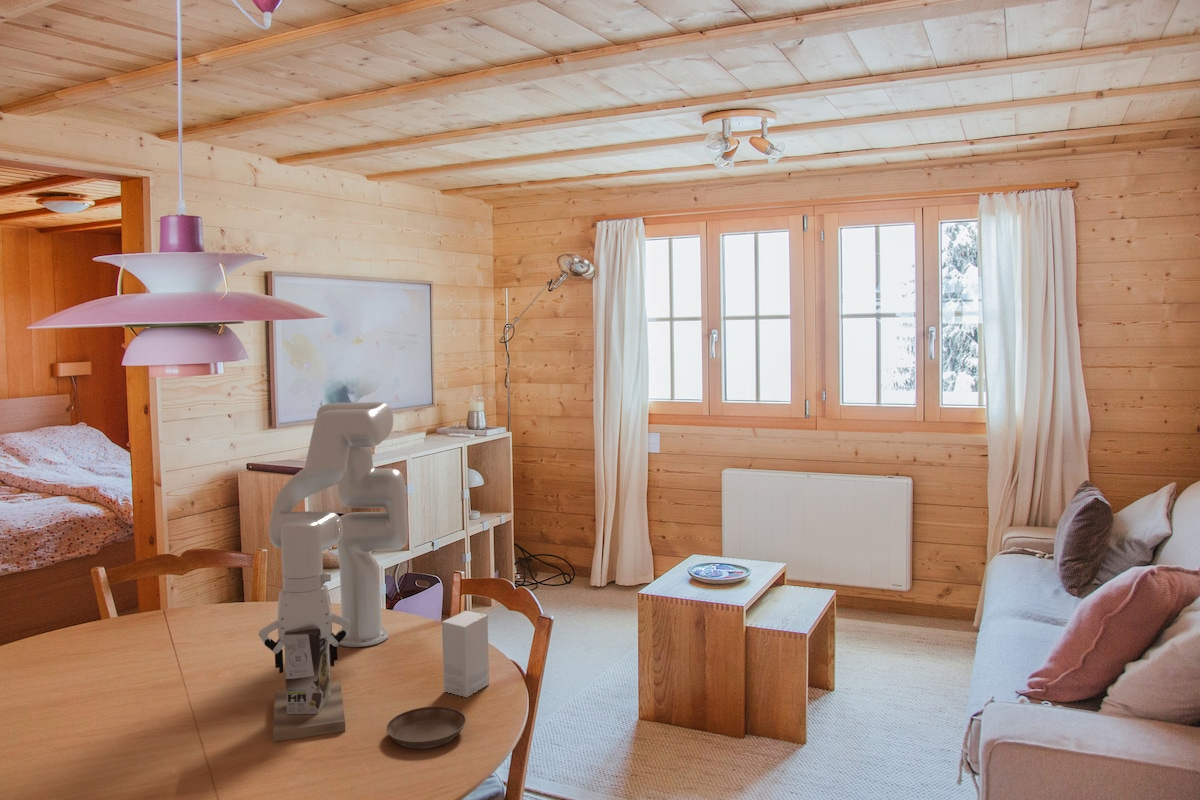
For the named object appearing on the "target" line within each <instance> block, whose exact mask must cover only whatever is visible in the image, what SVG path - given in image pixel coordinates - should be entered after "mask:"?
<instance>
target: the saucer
mask: <svg viewBox="0 0 1200 800" xmlns="http://www.w3.org/2000/svg"><path fill="white" fill-rule="evenodd" d="M466 723H467V717H466V715H465V714H464V713H463V712H461V711H460V710H458V709H455V708H453V707H447V706H427V707H426V706H425V707H418V708H415V709H410V710H407V711H404V712H402V713H399V714H398V715H396V716H394V717H393V718H392V719H391V720H389V722H388V723H387V725H386V732H387V734H388V735H389V737H390V738H391V739H392V740H393V741H395V743H397V744H399V745H401V746H403V747H404V748H408V749H413V750H415V749H416V750H426V749H433V748H437V747H441V746H444V745H446V744H447V743H450V742H451V741H453V739H454V738H455V737H457V736H458V735H459V733H461V732H462V730H463V729H464V727H465V725H466Z"/></svg>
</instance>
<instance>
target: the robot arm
mask: <svg viewBox="0 0 1200 800" xmlns="http://www.w3.org/2000/svg"><path fill="white" fill-rule="evenodd" d="M393 426H394V415H393V411H392V409H391V406H389V404H387V403H385V402H376V401H375V402H374V401H373V402H371V401H370V402H333V403H332V402H331V403H327V404H324V405H323V404H322V405H321V406H320V407H319V408H318V410H317V411H316V418H315V421H314V423H313V427H312V433H311V437H310V440H309V447H308V452H307V456H306V460H305V465H304V466H303V468H302V469H301V470H299V471H298V472H296V474H294V475H293V476H292V477H291V478H290V479H289V480H288V481H287V482H286V483H285V484H284V485H283V486H282V488H281V489H280V490H279V491H278V493H277V494H276V497H275V498H274V503H273V507H272V509H271V510H272V511H271V514H270V519H269V526H268V536H269V537H268V538H269V541H270V542H271V544H272V546H274V547H275V548H277V549H281V563H282V564H281V565H282V569H281V571H282V586H283V587H282V589H280V590H279V593H278V600H277V620H275V621H273V622H271V623H269V624H268V625H266V626H264V627H262V628H261V629H260V630H259V631H258V637H259V638H260V640H261V641H262V643H263V644H264V646H265V647H266V648H268V649H269V650H271V652H272V653H273V654H274V662H275V663H274V664H275V665H274V666H275V669H277V668H278V673H279V674H282V673H284V651H283V647H284V634H285V633H290V632H297V631H303V630H311V629H320V632H321V638H322V639H324V638H325V639H327V640H328V641H329V663H330V667H331V668H332V667H335V661H338V659H339V658H338V646H339V645H340V646H344V647H348V648H361V647H368V646H373V645H377V644H381V643H383V642H384V641H386V640H387V639H388V638H389V634H390V633H389V630H388V629H387V628H385V627H383V624H382V622H383V621H382V595H381V569H380V565H379V563H378V561H377V559H376V558H375V557H374V555H373V554H372V552H392V551H393V552H394V551H400V550H402V549H404V547H406V545H407V542H408V538H409V537H408V535H409V530H408V529H409V526H408V525H409V524H408V507H407V504H408V503H407V490H406V482H405V478H404V475H403V473H402V472H401V471H400V470H398V469H397V468H396V469H395V468H388V467H387V468H385V467H384V468H376V467H375V466H374V461H373V460H374V459H373V449H372V448H373V447H377V446H378V445H380V444H382V442H383V441H384V440H386V439H387V438H388V437H389V435H390V434H391V432H392V429H393ZM335 485H337V489H338V490H337V492H338V497H339V499H338V500H339V501H340V504H341V505H342V506H343V507H346V508H349V509H350V508H353V509H370V508H371V509H372V508H373V509H374V508H376V509H377V508H379V509H381V508H382V509H384V510H385V511H355V512H349V513H344V514H342V515H340V516H339V514H338V513H335V512H332V511H327V510H326V511H322V510H320V511H294V509H295V507H296V506H297V505H298V504H299V503H300V502H302V501H303V500H304V499H306V498H308V497H309V496H312V495H314V494H316V493H318V492H320V491H324V490H326V489H328V488H330V487H333V486H335ZM335 546H336V549H337V554H338V555H337V556H338V562H339V563H338V564H339V581H340V583H339V585H340V606H341V607H340V610H341V616H339V615H336V614H334V613H332V607H331V598H330V592H329V589H328V585H326V583H328V582H331V580H332V577H331V574H327V573H325V572H324V571H323V570H324V564H323V563H324V562H323V551H324V550H325V551H326V550H327V549H331V548H333V547H335ZM333 623H334V624H337V625H339V626H341V628H340V630H339V631H338V632H337V633H336V634H335V633H334V632H333ZM275 630H277V633H278V635H277V637H278V639H277V640H276V641H275V640H273V639H272V638H271V637H270V636H269V634H271V633H272V632H274V631H275Z"/></svg>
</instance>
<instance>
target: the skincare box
mask: <svg viewBox="0 0 1200 800" xmlns="http://www.w3.org/2000/svg"><path fill="white" fill-rule="evenodd" d="M488 617H489V615H488V614H485V613H481V612H480V613H479V612H474V611H469V610H464V611H462V612H460V613H458V614H455V615H454V616H452V617H450V618H447V619H445V620H442V621H441V629H442V630H441V631H442V633H441V635H442V662H443V663H442V664H443V665H442V666H443V667H442V668H443V669H442V671H443V692H444V693H445V692H448V693H447V694H449V693H452V694H451V695H453V694H455V695H454V696H457V695H459V696H458V697H461V696H463V697H462V698H465V697H467V698H469V697H470V696H472V695H474V694H475V693H478V692H479V691H481V690H482V689H484V688H485V687H488V686H489V685H490V669H489V668H490V665H489V662H490V660H489V630H488V629H489V627H488V625H489V623H488ZM478 690H479V691H478ZM473 693H474V694H473Z"/></svg>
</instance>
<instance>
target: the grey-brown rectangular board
mask: <svg viewBox="0 0 1200 800" xmlns="http://www.w3.org/2000/svg"><path fill="white" fill-rule="evenodd" d="M341 684H342V683H341V682H334V683H330V685H331V696H330V697H329V699H328V700H327V702H326V703H325V705H324V706H323V708H322V709H321V710H320V712H319V713H318V714H287V699H286V689H282V690H275V692H274V706H273V708H274V709H273V719H272V720H273V721H272V723H273V724H272V742H273V743H276V742H283V741H284V742H285V741H289V740H296V739H302V738H310V737H318V736H323V735H330V734H336V733H344V732H346V718H345V709H344V700H343V693H342V685H341Z"/></svg>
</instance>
